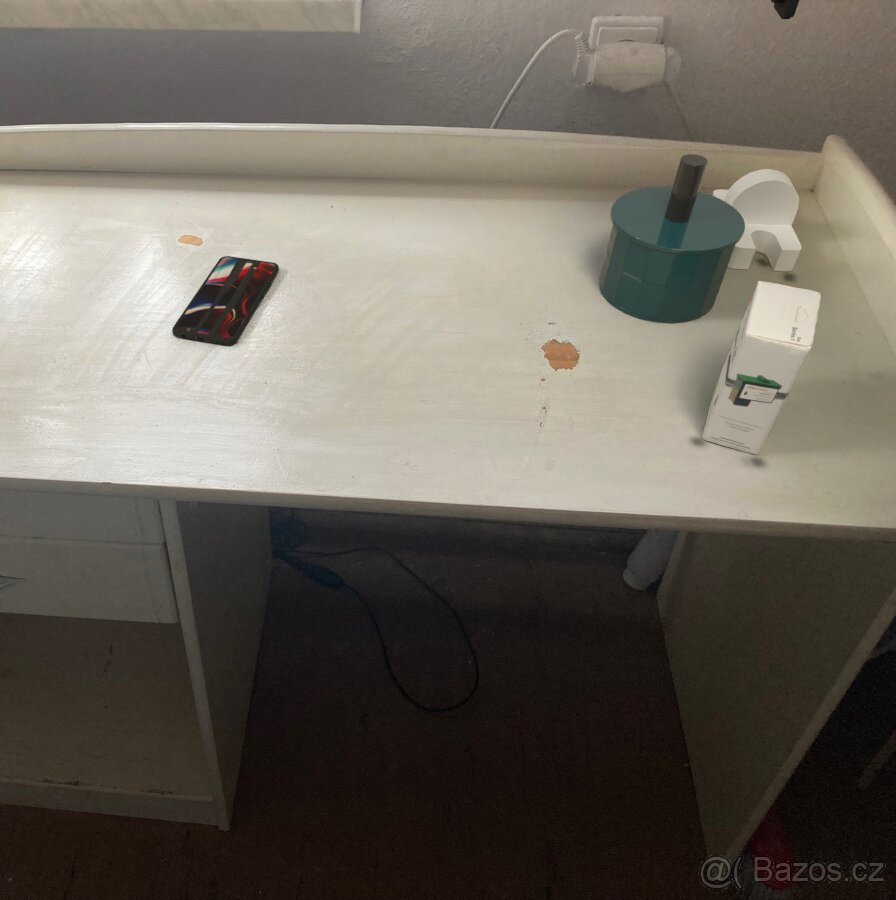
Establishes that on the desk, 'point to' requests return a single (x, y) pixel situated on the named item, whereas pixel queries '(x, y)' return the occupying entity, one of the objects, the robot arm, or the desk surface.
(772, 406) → the ink box
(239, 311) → the smartphone
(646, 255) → the pot
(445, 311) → the desk surface
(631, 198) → the lid
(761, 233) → the slotted bracket
